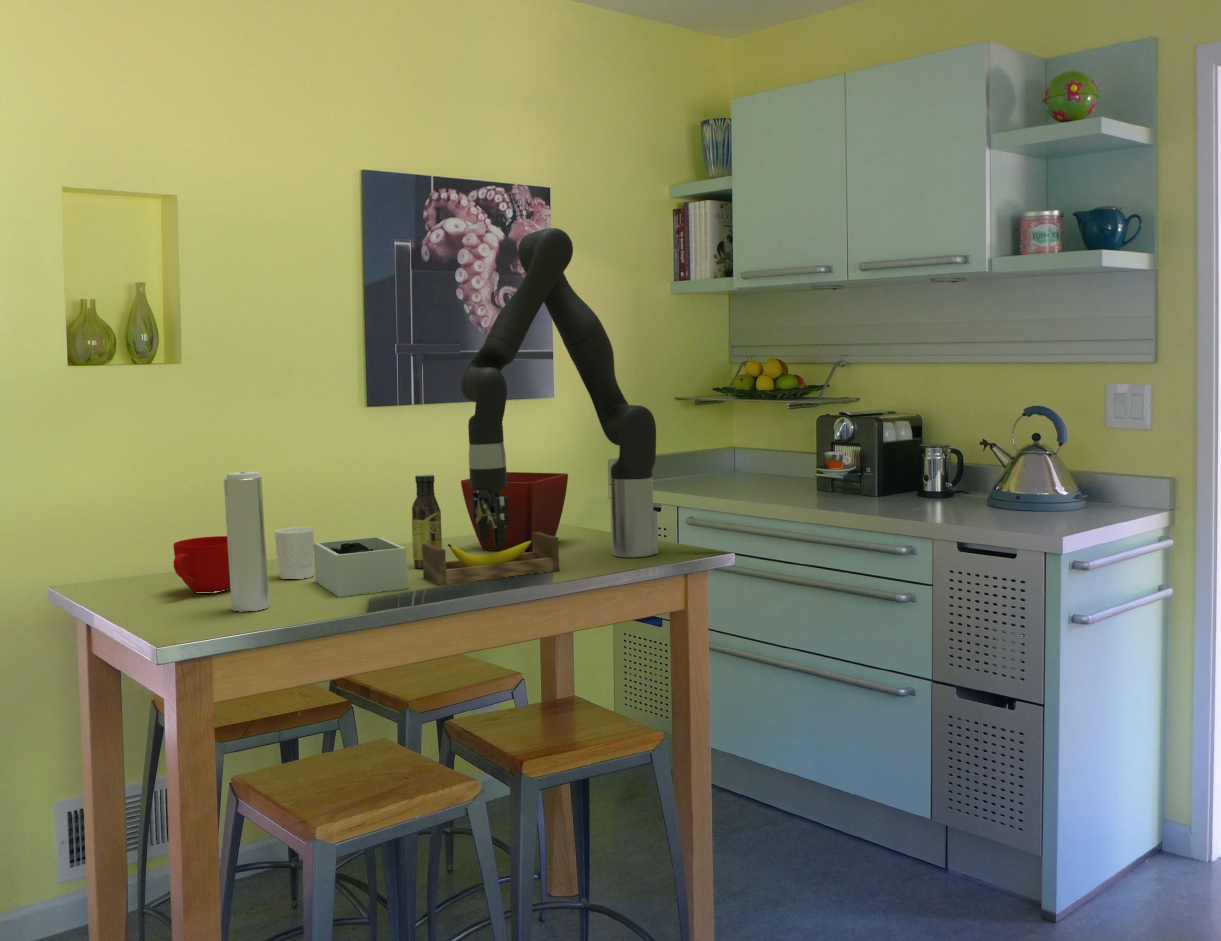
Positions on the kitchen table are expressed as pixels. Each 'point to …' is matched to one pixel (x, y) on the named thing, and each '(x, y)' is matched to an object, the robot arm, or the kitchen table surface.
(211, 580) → the ceramic cup
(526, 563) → the cradle
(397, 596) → the kitchen table surface
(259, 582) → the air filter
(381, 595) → the kitchen table surface
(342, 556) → the camera caddy
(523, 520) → the plant pot
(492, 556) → the banana
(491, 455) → the robot arm
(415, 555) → the sauce bottle
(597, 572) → the kitchen table surface
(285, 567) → the white cup
